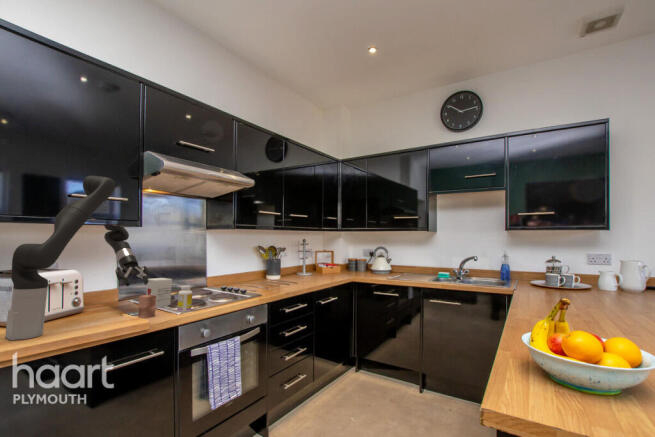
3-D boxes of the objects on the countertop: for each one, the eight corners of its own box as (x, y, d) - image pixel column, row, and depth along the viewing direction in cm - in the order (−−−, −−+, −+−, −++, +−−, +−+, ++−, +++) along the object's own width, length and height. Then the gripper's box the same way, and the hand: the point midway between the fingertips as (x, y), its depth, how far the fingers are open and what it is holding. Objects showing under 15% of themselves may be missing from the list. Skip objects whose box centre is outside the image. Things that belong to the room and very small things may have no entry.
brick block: (144, 319, 142) (145, 297, 143) (137, 317, 145) (139, 295, 146) (154, 317, 147) (156, 295, 148) (148, 315, 149) (150, 294, 150)
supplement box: (144, 306, 169) (146, 278, 171) (160, 304, 177) (162, 277, 179) (155, 308, 165) (157, 280, 167) (170, 306, 173) (172, 278, 174)
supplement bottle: (191, 309, 166) (193, 284, 167) (191, 312, 160) (192, 286, 161) (177, 310, 164) (179, 285, 165) (176, 312, 158) (178, 286, 159)
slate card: (127, 318, 143) (127, 317, 143) (115, 315, 148) (115, 314, 148) (152, 313, 154) (152, 313, 154) (140, 311, 158) (141, 310, 159)
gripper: (114, 254, 151) (125, 280, 145) (144, 254, 164) (155, 278, 157) (108, 264, 153) (118, 291, 147) (137, 263, 166) (148, 288, 159)
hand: (137, 284), depth 152 cm, fingers open, 8 cm apart
